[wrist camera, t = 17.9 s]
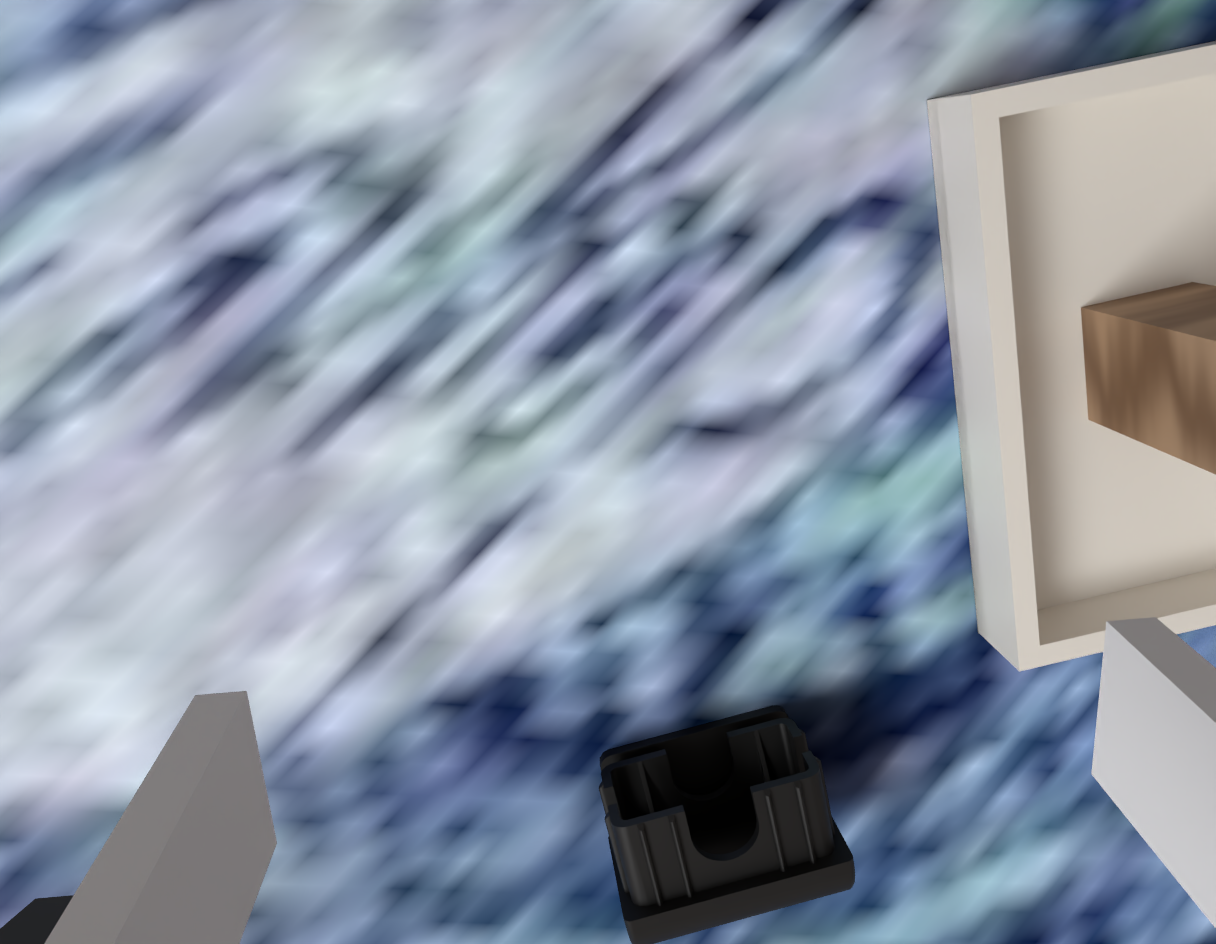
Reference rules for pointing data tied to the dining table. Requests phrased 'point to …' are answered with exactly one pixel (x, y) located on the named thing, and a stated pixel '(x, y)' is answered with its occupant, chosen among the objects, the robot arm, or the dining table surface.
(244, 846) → the robot arm
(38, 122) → the dining table surface
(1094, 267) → the sorting tray
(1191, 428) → the walnut block
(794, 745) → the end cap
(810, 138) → the dining table surface
